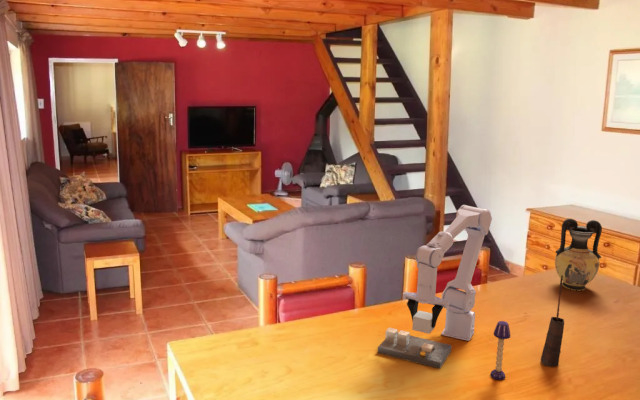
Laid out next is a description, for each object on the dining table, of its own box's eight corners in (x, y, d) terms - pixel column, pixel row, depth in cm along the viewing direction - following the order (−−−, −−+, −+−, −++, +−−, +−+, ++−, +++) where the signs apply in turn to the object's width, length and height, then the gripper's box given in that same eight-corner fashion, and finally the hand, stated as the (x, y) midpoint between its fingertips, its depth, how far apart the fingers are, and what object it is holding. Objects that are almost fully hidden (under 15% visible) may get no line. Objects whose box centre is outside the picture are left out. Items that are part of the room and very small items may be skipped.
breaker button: (433, 353, 174) (433, 345, 173) (430, 357, 171) (430, 348, 170) (423, 351, 175) (424, 342, 174) (420, 355, 172) (421, 346, 172)
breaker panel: (451, 350, 176) (452, 335, 175) (440, 368, 165) (441, 351, 164) (392, 336, 185) (392, 321, 184) (377, 352, 174) (378, 336, 173)
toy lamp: (487, 371, 164) (492, 319, 160) (502, 371, 164) (507, 319, 161) (493, 380, 159) (498, 326, 155) (509, 380, 159) (514, 326, 156)
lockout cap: (434, 327, 177) (435, 314, 176) (429, 333, 172) (430, 320, 171) (417, 323, 179) (418, 310, 178) (412, 329, 174) (413, 316, 173)
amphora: (556, 292, 229) (565, 222, 223) (547, 278, 245) (554, 213, 239) (602, 296, 226) (611, 225, 220) (589, 282, 242) (598, 215, 236)
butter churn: (565, 375, 162) (576, 286, 157) (531, 366, 167) (540, 279, 162) (569, 363, 170) (580, 277, 164) (537, 354, 175) (546, 270, 169)
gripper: (400, 283, 172) (397, 323, 175) (446, 292, 166) (442, 334, 168) (407, 276, 178) (405, 316, 181) (452, 285, 172) (449, 326, 174)
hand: (423, 324), depth 175 cm, fingers closed on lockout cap, 6 cm apart
